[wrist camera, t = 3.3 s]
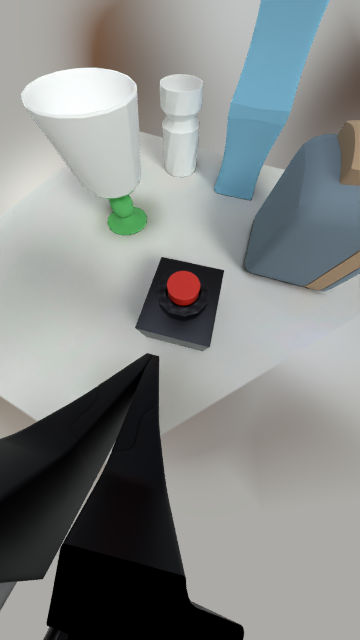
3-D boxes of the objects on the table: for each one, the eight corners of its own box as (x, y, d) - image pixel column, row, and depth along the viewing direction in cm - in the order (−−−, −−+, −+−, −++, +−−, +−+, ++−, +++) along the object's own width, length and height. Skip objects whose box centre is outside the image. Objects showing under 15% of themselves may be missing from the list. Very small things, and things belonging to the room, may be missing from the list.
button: (194, 309, 17) (196, 303, 15) (164, 301, 17) (162, 295, 16) (201, 282, 18) (203, 274, 16) (172, 276, 18) (171, 267, 17)
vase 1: (161, 174, 37) (152, 89, 25) (169, 156, 39) (166, 72, 28) (192, 179, 36) (198, 95, 25) (199, 161, 39) (207, 76, 27)
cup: (121, 193, 34) (76, 60, 19) (168, 213, 32) (158, 81, 17) (85, 228, 30) (-7, 97, 15) (134, 252, 28) (84, 128, 13)
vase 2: (220, 170, 37) (294, -168, 14) (256, 177, 37) (400, -170, 13) (212, 192, 35) (288, -188, 11) (251, 200, 34) (425, -191, 10)
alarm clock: (324, 297, 25) (537, 202, 10) (239, 275, 27) (316, 162, 12) (324, 235, 30) (469, 107, 15) (251, 219, 32) (317, 87, 17)
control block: (202, 351, 22) (213, 345, 15) (145, 336, 23) (130, 324, 16) (214, 289, 26) (228, 261, 19) (165, 278, 27) (159, 247, 19)
